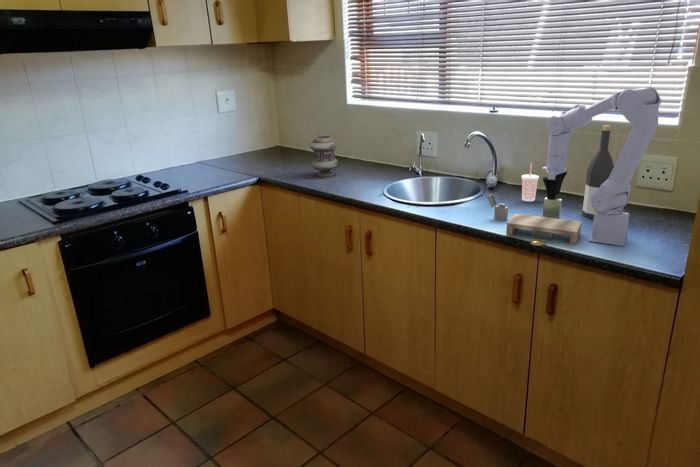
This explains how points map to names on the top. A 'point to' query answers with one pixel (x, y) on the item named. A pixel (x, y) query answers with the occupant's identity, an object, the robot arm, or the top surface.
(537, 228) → the oak shelf
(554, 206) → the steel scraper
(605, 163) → the wine bottle
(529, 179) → the beverage cup
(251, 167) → the top surface
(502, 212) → the lighter
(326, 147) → the apothecary jar
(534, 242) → the brass token
